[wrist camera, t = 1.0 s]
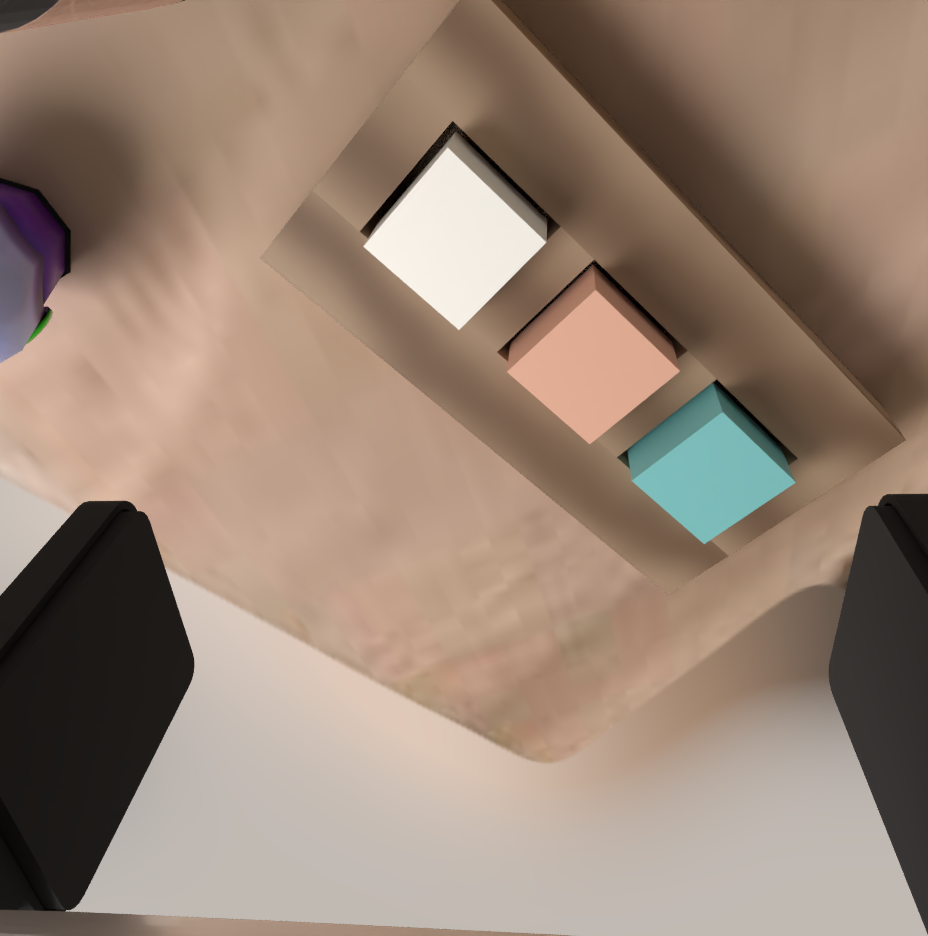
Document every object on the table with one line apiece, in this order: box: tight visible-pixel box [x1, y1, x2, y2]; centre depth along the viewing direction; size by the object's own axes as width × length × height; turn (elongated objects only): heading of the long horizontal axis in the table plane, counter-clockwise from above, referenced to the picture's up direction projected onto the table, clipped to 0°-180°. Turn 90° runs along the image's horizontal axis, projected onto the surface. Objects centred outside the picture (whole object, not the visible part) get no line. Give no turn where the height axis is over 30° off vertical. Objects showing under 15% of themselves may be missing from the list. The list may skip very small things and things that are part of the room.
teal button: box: [627, 382, 796, 544], centre depth 38 cm, size 5×5×3 cm
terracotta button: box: [507, 265, 680, 444], centre depth 36 cm, size 5×5×3 cm
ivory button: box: [363, 131, 547, 330], centre depth 33 cm, size 5×5×3 cm
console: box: [260, 0, 905, 595], centre depth 38 cm, size 14×27×3 cm, turn 48°
